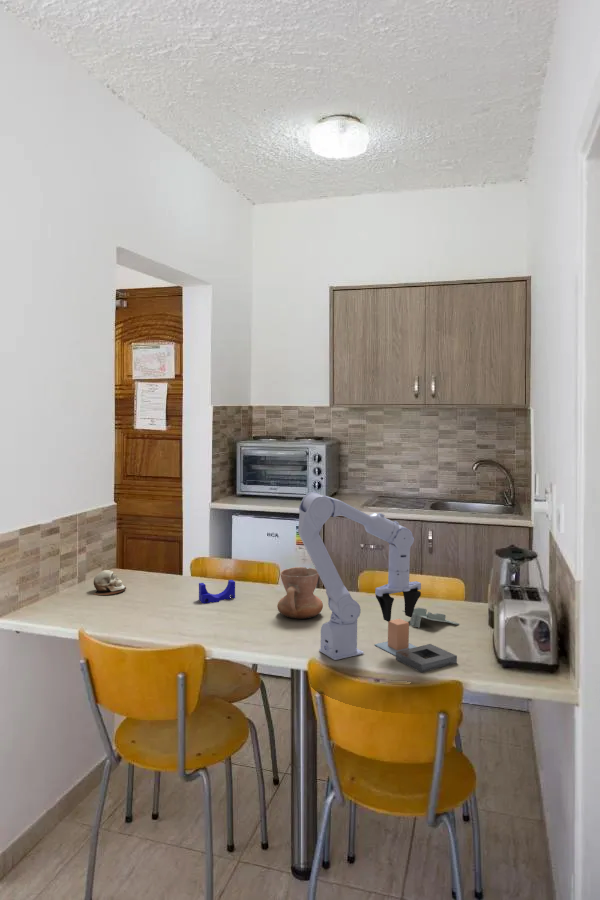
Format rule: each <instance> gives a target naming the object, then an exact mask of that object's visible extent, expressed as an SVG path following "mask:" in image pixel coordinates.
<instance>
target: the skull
mask: <svg viewBox="0 0 600 900" xmlns="http://www.w3.org/2000/svg"><path fill="white" fill-rule="evenodd" d="M93 578H94V579H93V585H94V588H95V590H96V591H95V592H94V593H93V595H95V596H107V595H108V596H109V595H114V594H119V593H122V592H123V591H124V592H125V591H126V590H127V587H126V586H125V585H124V584H123V581H122V580H121V579H120V578H119V577H118V576H117V574H114V571H113V570H109V569H105V570H104V569H103V570H101V571H99V573H97V574H96V575H95V576H94V577H93Z"/></svg>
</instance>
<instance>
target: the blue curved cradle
mask: <svg viewBox="0 0 600 900" xmlns="http://www.w3.org/2000/svg"><path fill="white" fill-rule="evenodd" d="M229 596H230V597H231V598H235V599H236V581H235V580H233V579H228V581H227V586H226V587H225V588H224V590H222V591H221V592H219V593H210V592H208V590H207V588H206V584H205V583H204V582H199V583H198V601H199V600H200V601H201V602H200V601H199V602H200V603H201V604H202V603H203V604H210V602H212V603H219V601H220V602H221V601H225V600H224V599H227V600H232V599H231V598H230V597H229Z"/></svg>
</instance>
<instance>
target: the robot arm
mask: <svg viewBox="0 0 600 900" xmlns="http://www.w3.org/2000/svg"><path fill="white" fill-rule="evenodd" d="M298 511H299V517H298V527H297V528H298V529H297V530H298V531H297V532H298V535H299V538H300V540H301V541H302V544H303V545H304V547H305V550H306V552H307V554H308V557H309V558H310V559H311V560H310V561H311V562H312V564H313V565H314V569H316V570H317V572H318V574H319V578H320V580H321V582H322V584H323V586H324V589H325V595H326V597H327V603H328V604H327V605H328V608H329V610H330V611H331V615H330V619H329V620H328V621H327V622H324V623H323V624H322V625H321V626H320V648H319V649H318V651H319V652H321V653H322V654H324V655H325V656H327V657H329V658H330V659H332V660H334V661H337V660H341V659H348V658H350V657H354V656H355V657H356V656H360V655H363V654H364V651H363V650H361V649H359V648H358V620H359V617H360V614H361V606H360V604H359V602H358V601H357V600H355V599H354V598H353V597H352V596H351V593H350V592H349V590H348V588H347V587H346V586H345V585H344V582H343V580H342V579H341V576H340V574H339V572H338V570H337V568H336V566H335V564H334V562H333V560H332V558H331V556H330V553H329V552H328V549H327V548H326V545H325V543H324V541H323V539H322V537H321V534H320V532H321V530H322V528H323V525H324V524H326V522H327V521H328V520H329V519H330V518H331V517H333V518H336V517H339V516H342V517H345V518H346V519H349V520H351V521H353V522H356V523H358V524H360V525H362V526H363V527H364V530H365V532H366V533H367V534H369V535H371V536H374V537H376V538H378V539H380V540H383V541H385V542H387V544H388V571H387V574H388V577H387V579H388V580H387V584H386V583H385V584H384V585H381V586H378V587H375V599H376V600H377V602H378V603H379V607H380V609H381V612H382V613H381V614H382V618H383V620H384V621H386V622H387V623H388V622H389V621H390V620H392V609H393V608H392V607H393V603H394V600H395V598H394V597H392V596H391V594H396V593H402V594H403V599H404V611H405V612H404V615H405V616H406V617H408V618H411V617H412V614H413V611H414V608H415V607H416V604H417V602H418V601H419V598H420V597H421V595H422V593H421V591H420V590H421V589H422V583H421V582H419V581H410V569H411V568H410V566H411V565H410V562H411V561H410V559H411V547H412V545H413V544H414V542H415V538H414V535H413V532H412V530H410V529H409V528H407V527H405V526H403V525H400V522H398V521H397V520H394V521H393V520H391V519H388V518H387V517H385V514H384V513H381V512H378V513H377V512H373V513H370V514H367V513H365V512H363V511H361V510H360V509H358V508H357V507H354V506H352V505H350V504H348V503H346V502H344V501H342V500H340V499H337V498H336V497H335V498H334V497H331V496H328V495H322V494H320V493H319V492H316V491H310V492H308V493H306V494H305V495H304V496H303V498H302V500H301V502H300V504H299V506H298Z"/></svg>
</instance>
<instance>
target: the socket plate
mask: <svg viewBox="0 0 600 900" xmlns="http://www.w3.org/2000/svg"><path fill="white" fill-rule="evenodd" d="M425 657H428V658H425ZM395 660H396V661H398V662H400V663H402V664H404V665H406V666H408V667H410V668H412V669H414V670H416V671H417V672H420V673H421V674H422V673H426V672H429V671H432V670H433V671H434V670H436V669H441V668H444V667H448V666H451V665H455V664H458V663H457V662H458V655H456V654H454V653H452V652H451V651H450V652H449V651H447V650H445V649H443V648H441V647H439V646H436V645H434V644H432V643H429V644H424V645H419V646H416V647H415V648H410V649H406V650H402V651H398V652H396V656H395Z"/></svg>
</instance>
